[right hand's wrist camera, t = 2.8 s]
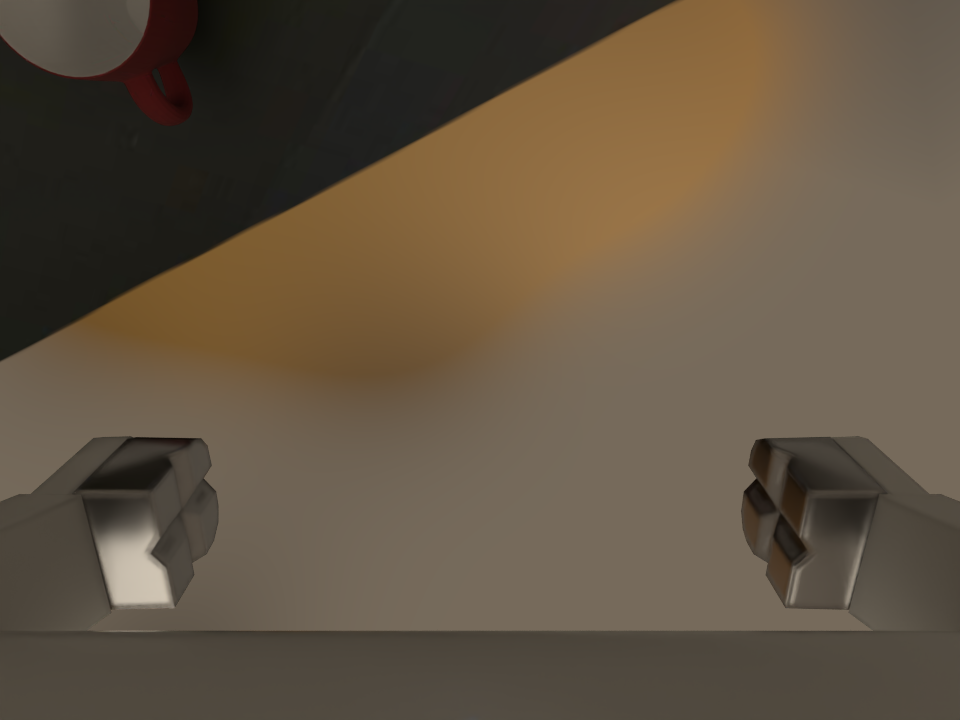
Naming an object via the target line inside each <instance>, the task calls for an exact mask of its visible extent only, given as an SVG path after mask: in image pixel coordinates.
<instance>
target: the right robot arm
mask: <svg viewBox="0 0 960 720" xmlns="http://www.w3.org/2000/svg"><path fill="white" fill-rule="evenodd" d="M210 467H211V460H210V456H209V451H208V446H207V445H206V443H205V442H204V441H203V440H202V439H201V438H149V437H135V438H133V437H131V436H129V437H101V438H93V439H92V440H91V441H90V442H89V443H87V444H86V445H85V446H84V447H83V448H82V449H81V450H80V451H78V452H77V453H76V454H75V455H74V456H73V457H72V458H71V459H69V460H68V461H67V462H66V463H65V464H64V465H63V466H62V467H60V468H59V469H58V470H57V471H56V472H55V473H54V474H53V475H52V476H50V477H49V478H48V479H47V480H46V481H45V482H44V483H42V484H41V485H40V486H39V487H38V488H37V489H36V490H35V491H34V492H32V493H31V494H19V495H16V496H14V497H11V498H9V499H6V500H3V501H1V502H0V720H960V502H959V501H957V500H954V499H952V498H949V497H946V496H944V495H941V494H929V493H928V492H927V491H925V490H924V489H923V488H922V487H921V486H920V485H919V484H918V483H916V482H915V481H914V480H913V479H912V478H911V477H910V476H909V475H908V474H906V473H905V472H904V471H903V470H902V469H901V468H900V467H899V466H897V465H896V464H895V463H894V462H893V461H892V460H891V459H890V458H889V457H887V456H886V455H885V454H884V453H883V452H882V451H881V450H879V449H878V448H877V447H876V446H875V445H874V444H873V443H872V442H871V441H869V440H868V439H866V438H863V437H859V436H855V437H832V438H831V437H809V438H767V439H760V440H756V441H755V443H754V445H753V448H752V450H751V454H750V460H749V467H750V469H751V470H752V472H753V473H754V475H755V477H756V478H757V479H756V480H755V481H754V482H753V483H752V484H751V485H750V486H749V487H748V488H747V489H746V490H745V491H744V495H743V502H742V510H741V513H742V524H743V531H744V534H745V537H746V541H747V543H748V545H749V547H750V549H751V550H752V552H753V554H754V555H756V556H758V557H759V558H761V559H763V560H764V561H766V562H767V563H768V566H767V571H766V576H767V578H768V579H769V581H770V583H771V584H772V586H773V588H774V589H775V591H776V593H777V594H778V596H779V598H780V600H781V601H782V603H783V605H784V606H785V608H803V609H840V610H849V613H850V614H851V615H853V616H854V617H855V618H857V619H858V620H860V621H861V622H862V623H864V624H865V625H866V626H868V627H869V628H870V629H872V630H873V631H87V630H88V629H90V628H91V627H93V626H94V625H95V624H97V623H98V622H99V621H101V620H102V619H103V618H105V617H106V616H107V615H109V614H110V613H111V610H120V609H156V608H175V606H176V605H177V603H178V601H179V600H180V598H181V596H182V595H183V593H184V591H185V590H186V588H187V586H188V584H189V583H190V581H191V579H192V578H193V576H194V571H193V566H192V563H193V562H194V561H196V560H198V559H199V558H201V557H202V556H204V555H206V554H207V552H208V550H209V548H210V547H211V545H212V543H213V541H214V538H215V534H216V529H217V525H218V501H217V494H216V491H215V490H214V489H213V488H212V487H211V486H210V485H209V484H208V483H207V482H206V481H205V480H204V479H203V478H204V477H205V475H206V473H207V472H208V470H209V469H210Z"/></svg>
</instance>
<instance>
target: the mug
mask: <svg viewBox="0 0 960 720" xmlns="http://www.w3.org/2000/svg"><path fill="white" fill-rule="evenodd" d="M197 21H198V3H197V0H0V37H1V38H2V39H3V41H4V42H5V43H6V44H7V45H8V46H9V47H10V48H11V49H12V50H14V51H15V52H16V53H17V54H18V55H19V56H21V57H22V58H23V59H25V60H26V61H28V62H29V63H31V64H32V65H34V66H36V67H38V68H40V69H42V70H44V71H46V72H49V73H51V74H54V75H57V76H61V77H65V78H71V79H80V80H95V81H119V82H123V83H124V84H125V85H126V87H127V89H128V91H129V93H130V95H131V97H132V98H133V100H134V101H135V103H136V104H137V106H138V107H139V108H140V109H141V110H142V111H143V112H144V113H145V114H146V115H147V116H148V117H149V118H151V119H152V120H153V121H155V122H157V123H159V124H161V125H165V126H173V125H178V124H180V123H182V122H184V121H186V120H187V119H188V118H189V117H190V115H191V112H192V108H193V103H192V97H191V93H190V90H189V87H188V84H187V82H186V80H185V77H184V75H183V73H182V71H181V69H180V67H179V65H178V62H177V59H178V58H179V56H180V55H181V54H182V53H183V52H184V50H185V49H186V48H187V46H188V45H189V43H190V42H191V40H192V38H193V36H194V33H195V30H196V26H197ZM154 68H157V69H158V71H159V73H160V76H161V79H162V82H163V85H164V89H165V92H166V97H167V98H166V97H165V96H164V94H163V93H162V92H161V90H160V89H159V87H158V85H157V83H156V81H155V79H154V77H153V75H152V70H153V69H154Z"/></svg>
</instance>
